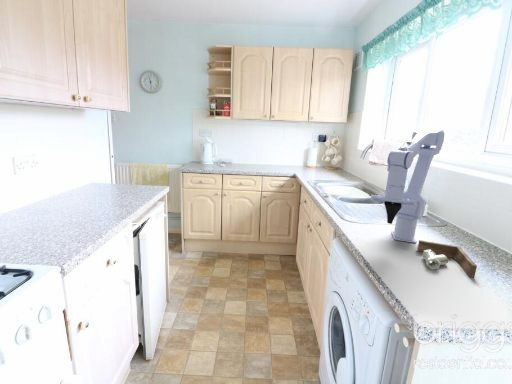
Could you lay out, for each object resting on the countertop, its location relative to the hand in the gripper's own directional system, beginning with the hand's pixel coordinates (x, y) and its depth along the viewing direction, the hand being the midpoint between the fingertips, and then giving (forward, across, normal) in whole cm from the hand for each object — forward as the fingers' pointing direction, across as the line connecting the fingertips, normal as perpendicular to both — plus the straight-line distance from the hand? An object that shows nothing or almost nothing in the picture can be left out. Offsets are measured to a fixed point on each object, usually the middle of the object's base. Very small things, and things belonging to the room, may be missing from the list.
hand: (389, 222), depth 102 cm
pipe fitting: (+10, +15, -7) cm, 19 cm away
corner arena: (+10, +17, -4) cm, 20 cm away
